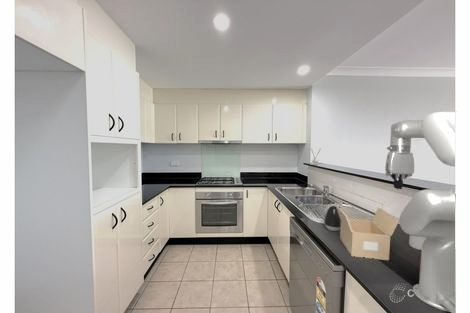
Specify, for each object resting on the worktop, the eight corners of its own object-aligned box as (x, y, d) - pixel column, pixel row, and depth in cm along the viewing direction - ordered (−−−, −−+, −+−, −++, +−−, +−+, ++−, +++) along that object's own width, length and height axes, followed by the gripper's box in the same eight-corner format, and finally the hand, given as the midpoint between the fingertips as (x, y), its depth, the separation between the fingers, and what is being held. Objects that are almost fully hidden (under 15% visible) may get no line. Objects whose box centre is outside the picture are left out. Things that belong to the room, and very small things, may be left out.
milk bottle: (421, 251, 106) (424, 213, 105) (405, 244, 114) (407, 208, 113) (432, 250, 109) (434, 212, 107) (415, 243, 116) (418, 207, 115)
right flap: (390, 235, 98) (391, 235, 97) (397, 220, 97) (399, 220, 96) (372, 220, 117) (373, 220, 117) (378, 207, 116) (379, 207, 116)
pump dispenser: (345, 231, 130) (346, 207, 129) (333, 234, 126) (334, 209, 125) (332, 225, 140) (333, 203, 139) (320, 227, 136) (321, 204, 135)
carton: (388, 260, 98) (390, 236, 97) (351, 256, 101) (352, 232, 101) (370, 241, 118) (371, 220, 117) (339, 238, 121) (340, 218, 120)
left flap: (340, 217, 120) (339, 218, 120) (336, 204, 120) (335, 204, 120) (352, 231, 101) (351, 232, 101) (347, 216, 101) (345, 216, 101)
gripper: (386, 149, 95) (384, 189, 96) (423, 149, 93) (421, 190, 94) (378, 149, 103) (376, 186, 103) (412, 149, 100) (410, 187, 101)
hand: (397, 188), depth 99 cm, fingers closed
